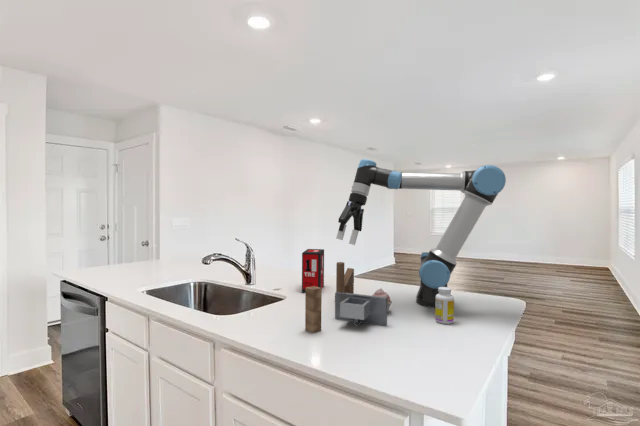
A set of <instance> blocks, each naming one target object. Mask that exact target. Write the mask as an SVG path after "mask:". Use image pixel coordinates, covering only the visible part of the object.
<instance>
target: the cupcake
mask: <svg viewBox="0 0 640 426" xmlns="http://www.w3.org/2000/svg"><path fill="white" fill-rule="evenodd" d="M371 296H378V297H387V315H388V314H389V312H390V308H391V306H392V304H393V301H392V300H391V297H390V295H389V294H388V292H386V291H384V289H383V288H382V287H381V288H378V289H376V291H375V292H374V293H373V294H372V295H371Z"/></svg>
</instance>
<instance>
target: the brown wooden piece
mask: <svg viewBox="0 0 640 426" xmlns="http://www.w3.org/2000/svg"><path fill="white" fill-rule="evenodd" d="M335 269H336V275H335V277H336V284H335V285H336V287H335V288H336V289H335V293H336V292H344V293H352V294H355V293H354V291H355V290H354V287H355V285H354V283H355V268H351V267H347V269H346V270H345V262H343V261H337V262H336V267H335Z"/></svg>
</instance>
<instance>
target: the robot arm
mask: <svg viewBox="0 0 640 426" xmlns="http://www.w3.org/2000/svg"><path fill="white" fill-rule="evenodd" d="M356 168H357V169H356V172H355V176H354V180H353V184H352V186H351V192H350V194H349V197H348V201H346V205H345V207H344V209H343V210H342V212H341V213H340V215H339V216H338V223H339V227H338V230H337V234H336V238H335V239H337V240H340V241H343V240H344V236H345V233H346V230H347V226H348V224H347V223H348V222H349V221H350V220H351V218H353V229H352V230H351V235H350V238H349V242H348V244H350V245H353V246H356V243H357V239H358V236H359V232H362V229H363V219H364V218H363V217H364V212H365V210H364V208H362V207H363V206H365V205H366V204H367V201H368V197H369V195H370V194H369V193H370V189H371V186H372V185H375V186H380V187H384V188H387V190H401V189H402V190H403V189H404V190H406V189H407V190H431V191H432V190H433V191H434V190H435V191H457V192H458V191H460V192H461V193H462V194H464V198H463V200H462V201H461V203H460V205H459V207H458V208H457V210H456V212H455V213H454V215H453V217H452V219H451V221H450V223H449V224H448V226H447V227H446V230H444V233H443V235H442V236H441V238H440V240H439V242H438V244H437V245H436V247H435V248H431V249H430V250H429V252H428V251H427V252H425V251H423V252H421V254H420V257H419V258H420V267H419V271H418V276H419V279H420V284H419V288H418V291H417V293H416V296H415V297H416V298H415V299H416V300H415V303H417V304H418V305H420V306H423V307H426V308H427V307H428V308H435V298H436V295H437V294H439V292H438V288H439V287H448V283H449V282H450V280H451V275H452V273H453V272H454V269H456V266H457V260H456V258H457V256H458V254H459V253H460V251H461V249H462V248H463V246H464V244H465V242H466V241H467V239H468V237H470V234H471V233H472V231H473V229H474V227H475V226H476V224H477V222H478V221H479V219H480V217H481V215H482V213H483V212H484V211H485V209H486V207H487V206H491V205H493V202H494V201H495V200H496V198H497V196H498V195H499V193H500V192H502V191H503V189H504V187H506V182H507V180H506V174H505V172H504V170H502V169H501V168H499V167H498V166H496V165H492V164H485V165H482V166H480V167H478V168H477V169H475V170H463V171H462V172H461V173H460V172H459V173H458V172H457V173H455V172H401V171H400V172H399V171H397V170H391V169H387V168H382V167H378V166H377V163H376V161H374V160H371V159H368V158H363V159H361V160H360V161H359V163H358V167H356Z"/></svg>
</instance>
